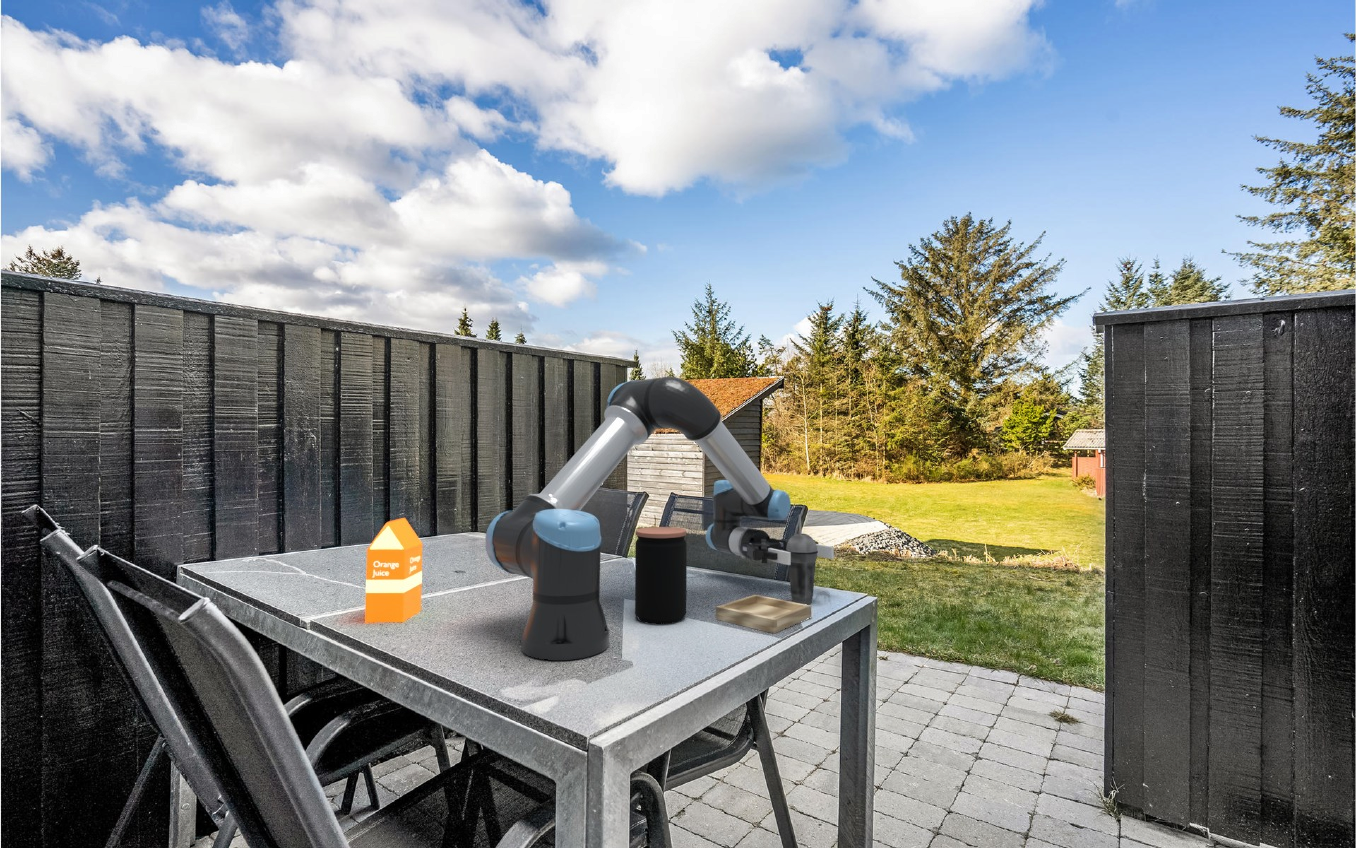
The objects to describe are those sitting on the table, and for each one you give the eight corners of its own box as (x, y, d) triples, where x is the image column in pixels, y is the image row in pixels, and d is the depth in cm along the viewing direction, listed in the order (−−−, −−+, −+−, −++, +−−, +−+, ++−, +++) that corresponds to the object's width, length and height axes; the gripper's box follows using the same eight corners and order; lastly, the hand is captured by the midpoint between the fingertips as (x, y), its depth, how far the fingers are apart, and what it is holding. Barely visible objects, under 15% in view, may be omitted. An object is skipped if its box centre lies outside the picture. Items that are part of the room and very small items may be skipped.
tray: (716, 619, 119) (716, 606, 120) (755, 605, 130) (755, 594, 130) (774, 633, 110) (774, 620, 110) (811, 618, 120) (811, 605, 121)
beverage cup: (822, 600, 134) (821, 513, 135) (812, 608, 128) (811, 516, 129) (792, 596, 138) (791, 511, 139) (781, 603, 132) (780, 514, 133)
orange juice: (421, 611, 125) (423, 517, 126) (403, 623, 116) (406, 522, 117) (384, 611, 125) (387, 517, 126) (363, 623, 116) (366, 522, 117)
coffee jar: (688, 611, 125) (688, 527, 126) (684, 626, 114) (684, 534, 115) (639, 610, 126) (639, 526, 127) (630, 624, 116) (631, 533, 116)
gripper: (786, 553, 156) (849, 566, 138) (711, 563, 142) (769, 579, 124) (786, 525, 156) (849, 534, 138) (711, 532, 142) (769, 543, 125)
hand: (811, 555), depth 131 cm, fingers open, 13 cm apart
